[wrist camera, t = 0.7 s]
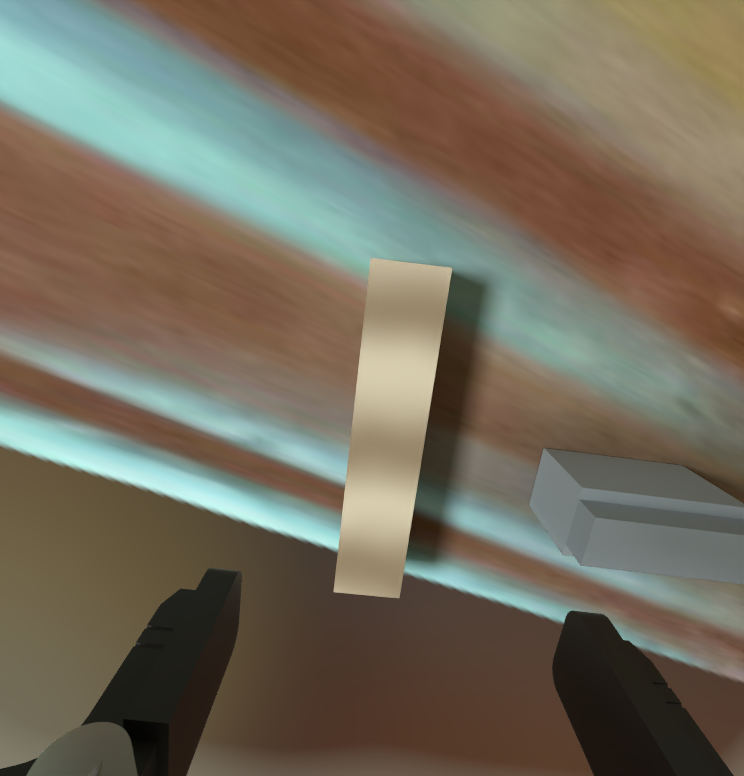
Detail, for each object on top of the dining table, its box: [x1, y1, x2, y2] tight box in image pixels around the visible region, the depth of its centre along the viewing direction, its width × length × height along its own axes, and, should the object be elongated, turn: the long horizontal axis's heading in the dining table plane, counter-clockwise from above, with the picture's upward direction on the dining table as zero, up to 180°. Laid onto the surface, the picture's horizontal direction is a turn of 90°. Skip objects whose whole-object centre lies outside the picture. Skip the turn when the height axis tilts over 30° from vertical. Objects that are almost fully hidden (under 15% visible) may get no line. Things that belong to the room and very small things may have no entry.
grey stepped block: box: [529, 448, 744, 584], centre depth 21 cm, size 4×8×6 cm, turn 82°
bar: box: [334, 258, 452, 598], centre depth 22 cm, size 17×4×4 cm, turn 173°
